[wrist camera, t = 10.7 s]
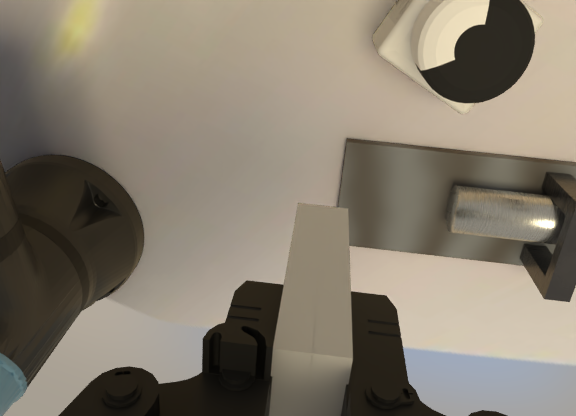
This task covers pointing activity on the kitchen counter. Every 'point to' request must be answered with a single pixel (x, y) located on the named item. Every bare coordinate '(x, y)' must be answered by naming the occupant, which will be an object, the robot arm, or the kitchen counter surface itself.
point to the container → (459, 46)
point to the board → (431, 197)
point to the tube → (503, 215)
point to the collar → (569, 249)
